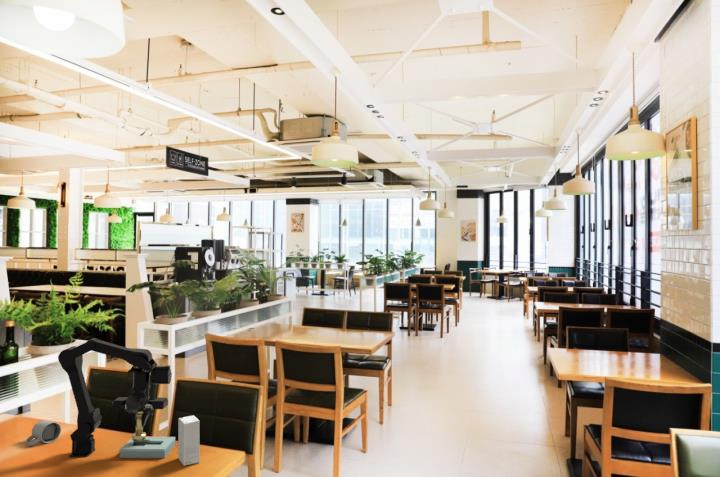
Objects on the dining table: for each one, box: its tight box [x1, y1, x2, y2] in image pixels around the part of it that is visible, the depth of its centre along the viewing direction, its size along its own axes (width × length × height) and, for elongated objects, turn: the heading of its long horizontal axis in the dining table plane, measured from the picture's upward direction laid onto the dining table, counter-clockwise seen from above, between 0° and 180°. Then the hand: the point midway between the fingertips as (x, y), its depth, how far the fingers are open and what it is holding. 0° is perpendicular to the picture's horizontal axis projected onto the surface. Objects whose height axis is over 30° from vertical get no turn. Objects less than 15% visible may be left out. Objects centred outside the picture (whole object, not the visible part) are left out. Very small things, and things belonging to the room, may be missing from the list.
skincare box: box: [177, 415, 201, 467], centre depth 177 cm, size 8×6×15 cm
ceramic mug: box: [24, 420, 62, 447], centre depth 191 cm, size 11×8×8 cm
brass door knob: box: [131, 411, 147, 441], centre depth 184 cm, size 5×5×9 cm
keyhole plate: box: [119, 436, 176, 459], centre depth 184 cm, size 16×12×3 cm
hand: (139, 426), depth 184 cm, fingers closed on brass door knob, 2 cm apart
